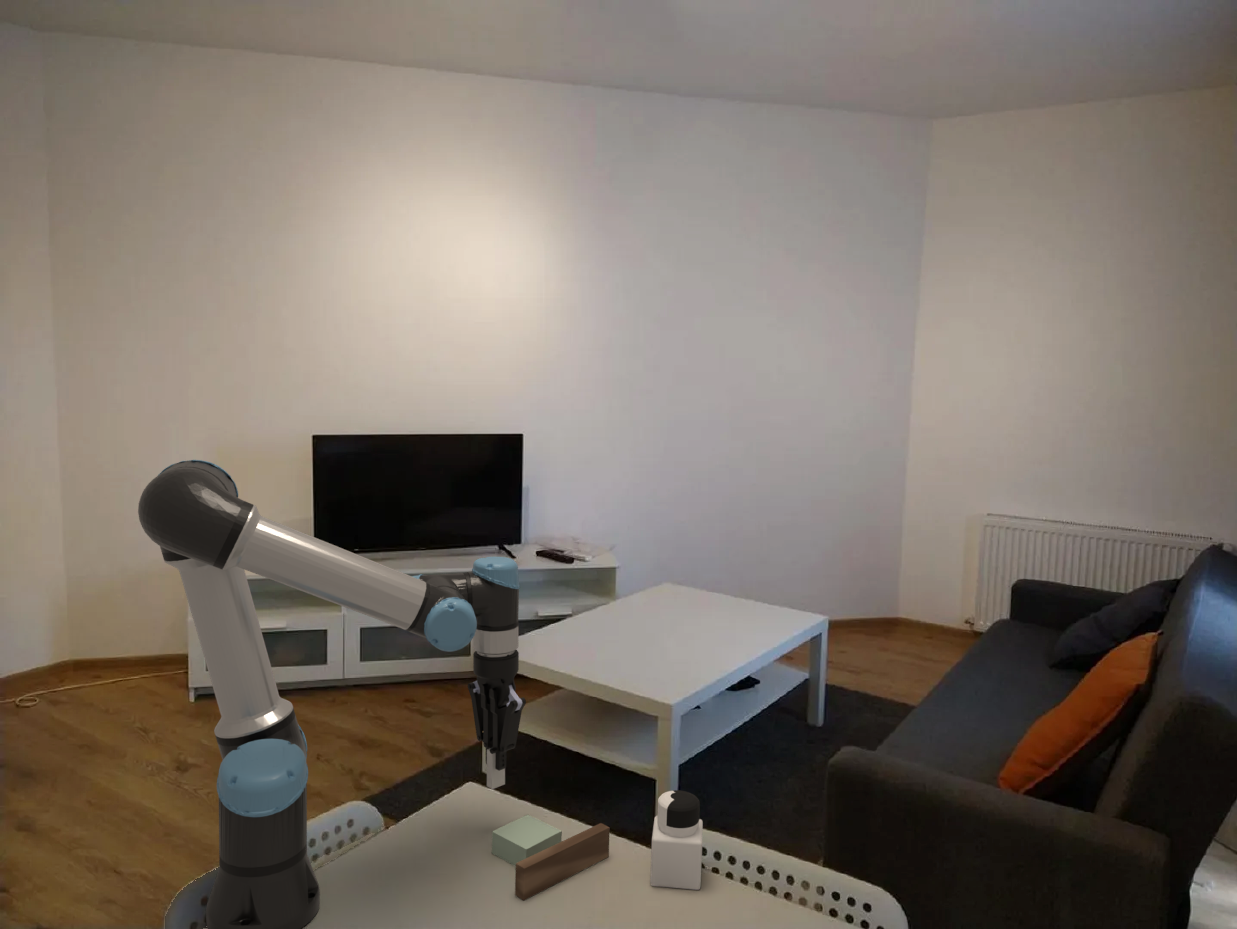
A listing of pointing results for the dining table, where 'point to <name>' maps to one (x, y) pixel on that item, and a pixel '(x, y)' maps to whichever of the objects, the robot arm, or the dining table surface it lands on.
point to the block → (523, 839)
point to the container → (677, 842)
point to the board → (561, 861)
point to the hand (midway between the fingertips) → (495, 785)
